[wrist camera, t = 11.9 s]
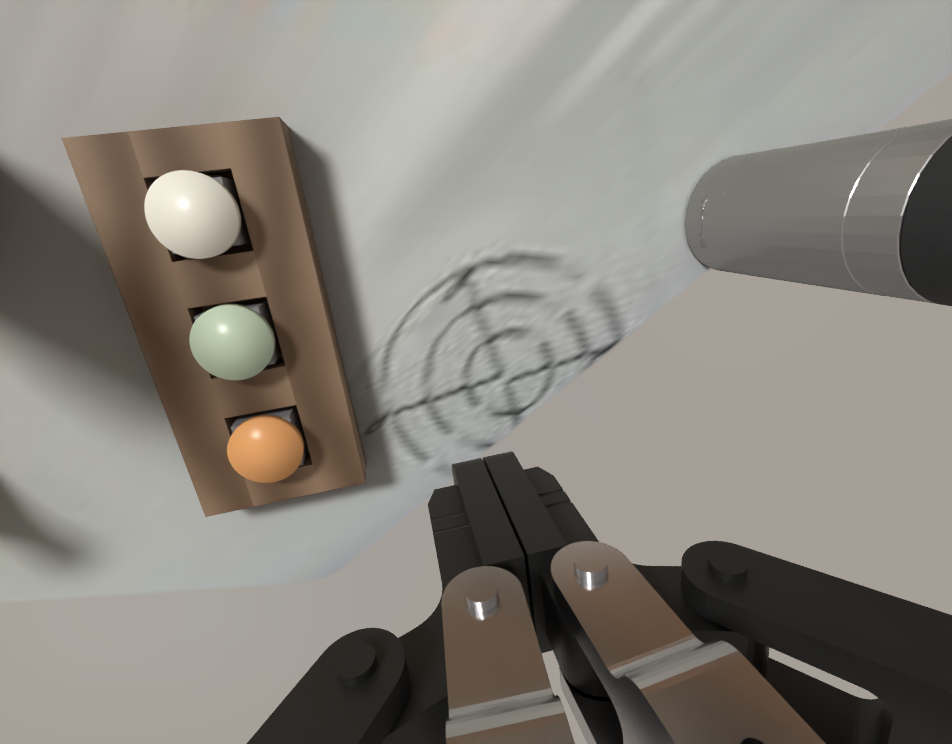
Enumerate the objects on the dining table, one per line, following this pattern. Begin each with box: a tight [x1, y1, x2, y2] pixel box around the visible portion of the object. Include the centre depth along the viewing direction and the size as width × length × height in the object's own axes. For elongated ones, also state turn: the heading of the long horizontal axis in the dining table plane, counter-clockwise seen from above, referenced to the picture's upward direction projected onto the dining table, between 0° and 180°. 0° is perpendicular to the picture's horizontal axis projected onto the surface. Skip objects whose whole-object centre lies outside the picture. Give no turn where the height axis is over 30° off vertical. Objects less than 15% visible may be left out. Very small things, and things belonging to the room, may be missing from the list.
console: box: [62, 117, 366, 517], centre depth 33 cm, size 12×26×3 cm, turn 8°
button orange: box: [227, 405, 308, 483], centre depth 35 cm, size 5×5×4 cm
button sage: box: [189, 300, 282, 380], centre depth 32 cm, size 5×5×4 cm
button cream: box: [144, 170, 251, 259], centre depth 30 cm, size 5×5×4 cm
